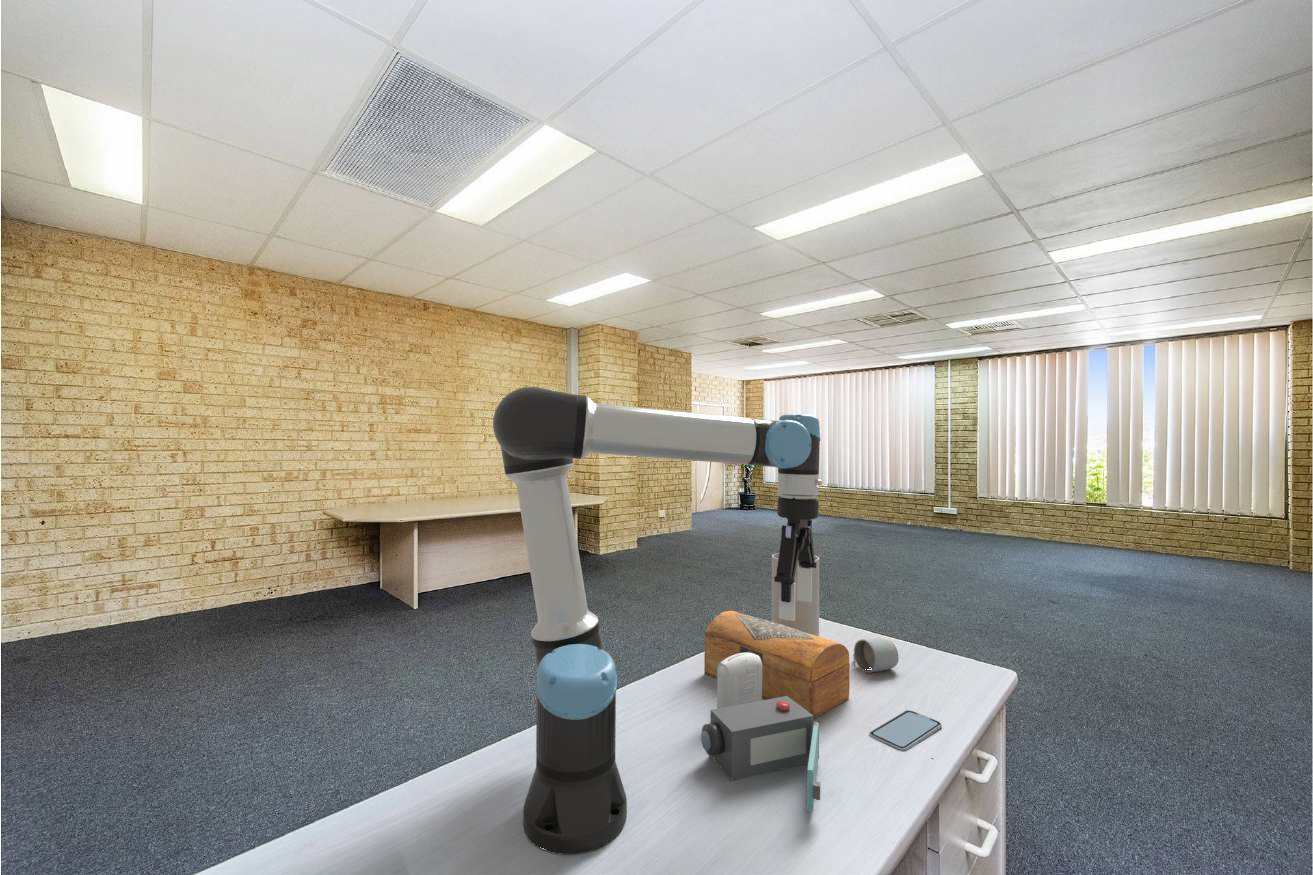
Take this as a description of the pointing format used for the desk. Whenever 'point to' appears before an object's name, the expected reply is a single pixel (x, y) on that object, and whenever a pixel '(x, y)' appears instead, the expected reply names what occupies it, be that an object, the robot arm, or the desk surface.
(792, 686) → the wooden box
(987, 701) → the desk surface
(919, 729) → the smartphone
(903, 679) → the desk surface
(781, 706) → the camera body
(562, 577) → the robot arm
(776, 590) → the cylinder vase
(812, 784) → the side door
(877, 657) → the ceramic mug
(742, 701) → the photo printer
